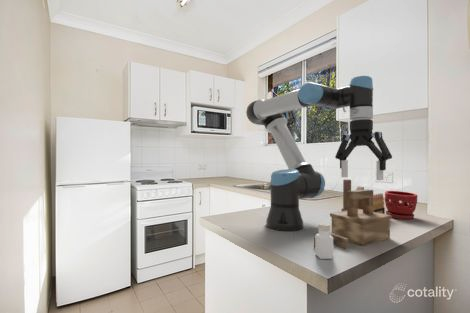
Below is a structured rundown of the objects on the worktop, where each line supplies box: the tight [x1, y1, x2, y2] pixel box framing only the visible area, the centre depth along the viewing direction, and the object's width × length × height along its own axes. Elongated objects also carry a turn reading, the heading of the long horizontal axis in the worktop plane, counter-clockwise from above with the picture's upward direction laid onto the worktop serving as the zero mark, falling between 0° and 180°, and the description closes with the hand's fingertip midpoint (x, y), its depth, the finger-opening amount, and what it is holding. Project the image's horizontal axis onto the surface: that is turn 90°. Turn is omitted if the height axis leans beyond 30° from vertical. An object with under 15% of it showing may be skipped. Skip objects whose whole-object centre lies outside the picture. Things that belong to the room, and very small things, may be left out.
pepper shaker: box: [314, 222, 334, 260], centre depth 71 cm, size 4×4×10 cm
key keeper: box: [313, 232, 349, 250], centre depth 78 cm, size 6×9×3 cm
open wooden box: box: [331, 217, 391, 247], centre depth 89 cm, size 12×16×7 cm
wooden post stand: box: [329, 188, 393, 225], centre depth 89 cm, size 13×17×10 cm
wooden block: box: [341, 179, 365, 211], centre depth 121 cm, size 4×11×18 cm, turn 109°
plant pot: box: [384, 190, 418, 220], centre depth 119 cm, size 13×13×12 cm
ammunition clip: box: [373, 192, 386, 214], centre depth 114 cm, size 11×2×12 cm, turn 125°
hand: (361, 178), depth 89 cm, fingers open, 13 cm apart
